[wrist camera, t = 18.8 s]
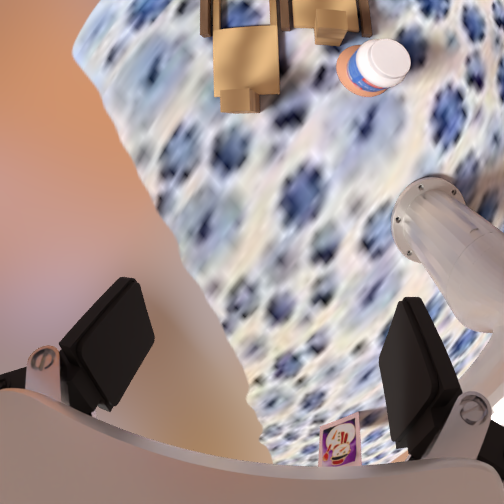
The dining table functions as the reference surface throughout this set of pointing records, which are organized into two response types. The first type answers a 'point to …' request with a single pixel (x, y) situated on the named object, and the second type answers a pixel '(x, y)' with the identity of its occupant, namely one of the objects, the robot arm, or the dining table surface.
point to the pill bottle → (378, 65)
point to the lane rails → (283, 17)
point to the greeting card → (340, 443)
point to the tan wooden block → (326, 19)
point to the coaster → (343, 74)
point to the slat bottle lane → (245, 63)
